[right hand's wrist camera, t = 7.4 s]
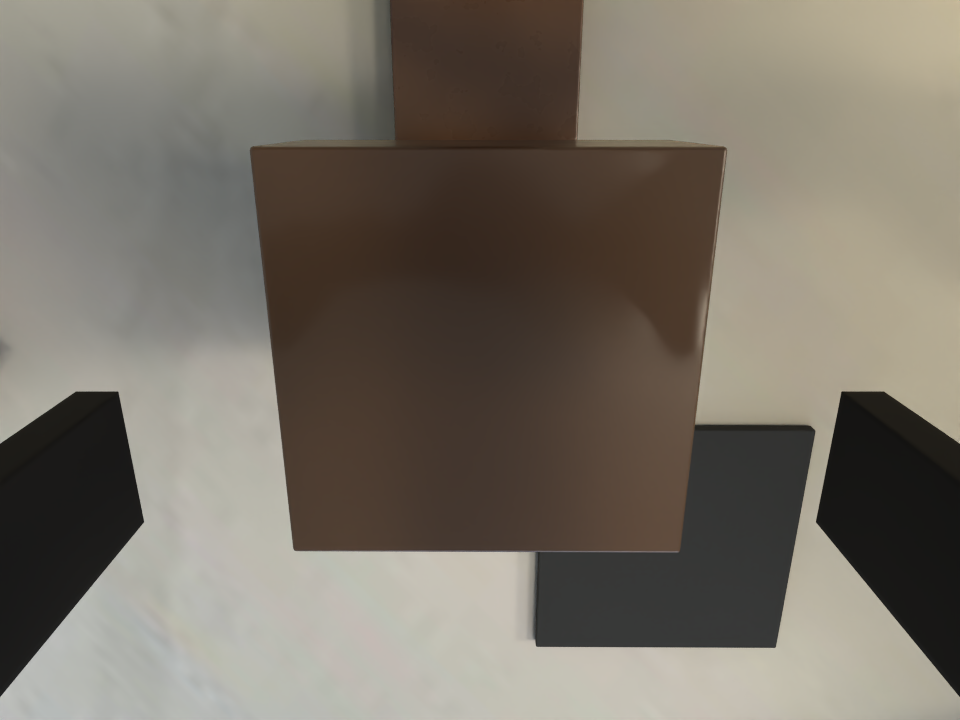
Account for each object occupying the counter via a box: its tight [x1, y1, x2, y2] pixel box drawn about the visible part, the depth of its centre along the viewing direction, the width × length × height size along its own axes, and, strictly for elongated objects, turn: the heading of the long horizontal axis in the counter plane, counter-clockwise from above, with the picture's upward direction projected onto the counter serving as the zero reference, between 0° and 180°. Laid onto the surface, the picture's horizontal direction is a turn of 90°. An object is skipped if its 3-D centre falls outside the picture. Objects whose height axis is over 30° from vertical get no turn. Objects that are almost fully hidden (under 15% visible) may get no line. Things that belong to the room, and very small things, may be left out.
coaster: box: [535, 426, 815, 648], centre depth 37 cm, size 14×14×1 cm
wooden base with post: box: [390, 0, 584, 140], centre depth 23 cm, size 30×9×13 cm, turn 0°
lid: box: [250, 140, 727, 552], centre depth 20 cm, size 11×11×5 cm
